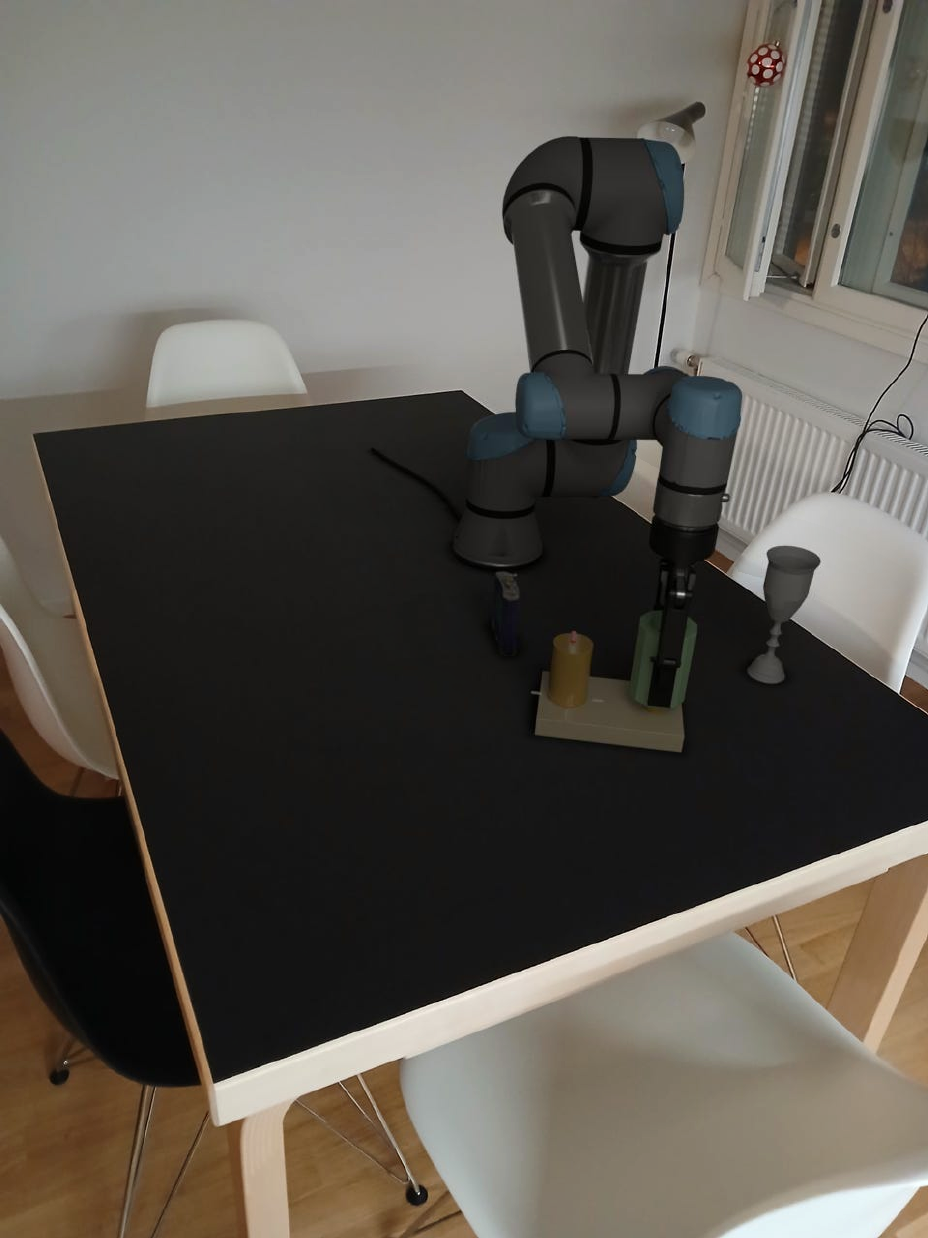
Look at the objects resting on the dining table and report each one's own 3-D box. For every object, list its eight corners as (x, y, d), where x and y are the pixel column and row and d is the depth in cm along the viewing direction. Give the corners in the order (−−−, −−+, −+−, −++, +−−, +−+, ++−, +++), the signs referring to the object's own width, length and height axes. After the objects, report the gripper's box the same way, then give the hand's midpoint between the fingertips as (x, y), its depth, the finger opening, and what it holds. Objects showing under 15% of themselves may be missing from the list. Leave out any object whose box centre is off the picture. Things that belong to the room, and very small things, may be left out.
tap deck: (525, 733, 120) (527, 716, 118) (533, 685, 129) (534, 669, 128) (681, 752, 118) (684, 735, 116) (677, 702, 127) (680, 685, 126)
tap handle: (586, 710, 120) (593, 653, 116) (546, 705, 121) (552, 649, 117) (587, 688, 125) (594, 632, 121) (548, 683, 125) (554, 628, 121)
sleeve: (618, 692, 120) (628, 623, 115) (649, 672, 125) (659, 604, 120) (664, 715, 116) (677, 644, 111) (694, 694, 121) (707, 624, 116)
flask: (489, 623, 143) (494, 558, 138) (509, 623, 144) (514, 558, 138) (500, 656, 135) (505, 589, 130) (521, 656, 136) (527, 588, 130)
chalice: (751, 654, 139) (776, 540, 130) (798, 670, 136) (827, 555, 127) (733, 676, 133) (758, 559, 124) (781, 693, 130) (811, 574, 121)
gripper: (728, 559, 100) (693, 738, 111) (712, 489, 117) (683, 650, 128) (655, 552, 101) (627, 730, 112) (650, 483, 118) (627, 644, 129)
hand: (657, 687), depth 120 cm, fingers closed on sleeve, 7 cm apart
